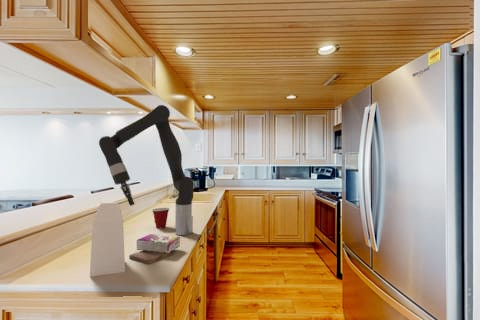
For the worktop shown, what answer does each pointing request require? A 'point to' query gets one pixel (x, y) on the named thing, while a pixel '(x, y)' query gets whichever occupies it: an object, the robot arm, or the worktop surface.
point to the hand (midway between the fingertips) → (132, 204)
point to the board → (149, 256)
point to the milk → (107, 241)
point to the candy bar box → (158, 243)
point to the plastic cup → (160, 217)
